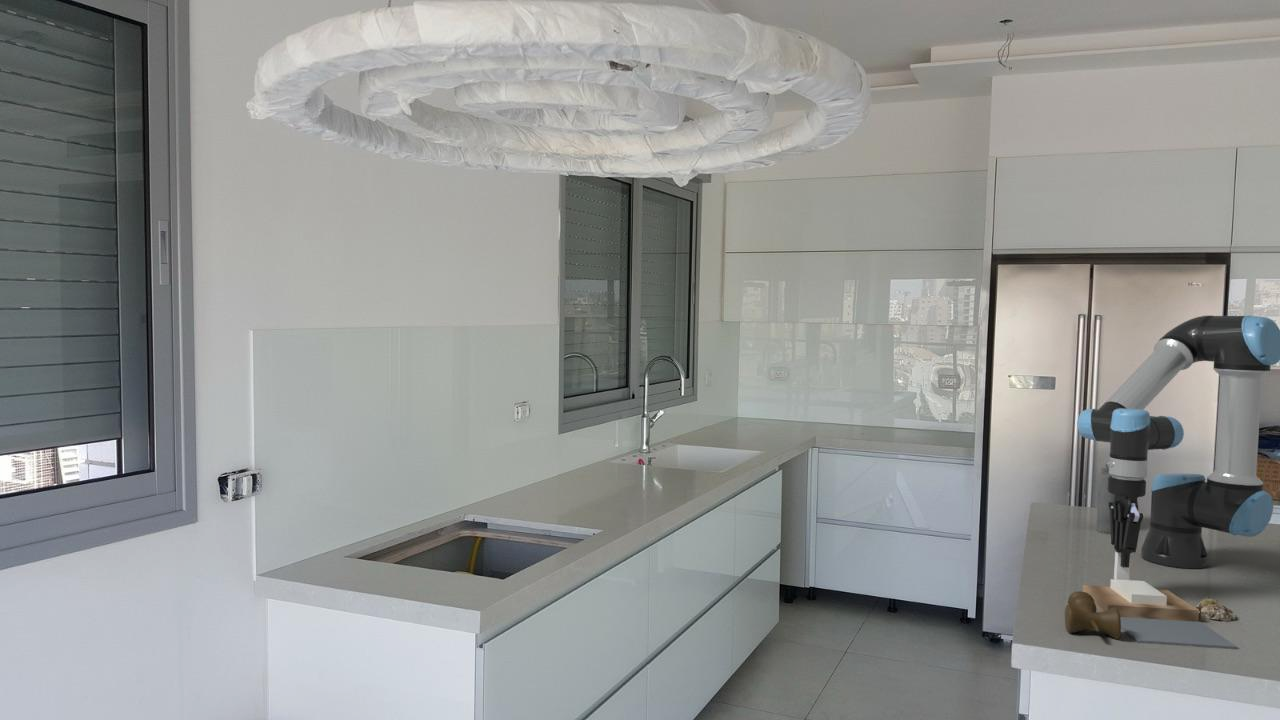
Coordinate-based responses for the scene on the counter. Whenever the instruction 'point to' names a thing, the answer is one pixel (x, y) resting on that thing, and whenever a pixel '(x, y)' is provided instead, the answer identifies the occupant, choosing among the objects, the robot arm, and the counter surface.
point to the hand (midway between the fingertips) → (1121, 579)
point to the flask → (1104, 502)
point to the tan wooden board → (1142, 605)
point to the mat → (1173, 632)
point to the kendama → (1090, 616)
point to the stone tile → (1138, 592)
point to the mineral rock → (1214, 610)
